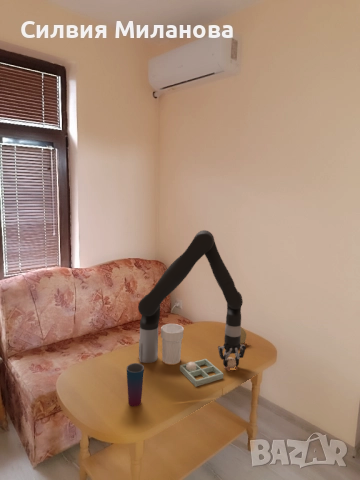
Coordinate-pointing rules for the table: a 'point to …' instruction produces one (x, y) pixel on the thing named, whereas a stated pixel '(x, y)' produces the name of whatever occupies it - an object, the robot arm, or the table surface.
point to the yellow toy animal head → (242, 336)
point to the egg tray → (202, 373)
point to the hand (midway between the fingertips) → (230, 365)
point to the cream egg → (191, 366)
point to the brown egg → (231, 362)
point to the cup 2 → (171, 343)
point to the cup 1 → (135, 383)
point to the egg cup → (228, 368)
